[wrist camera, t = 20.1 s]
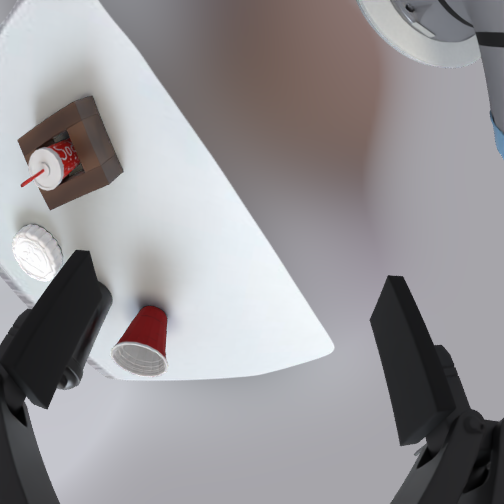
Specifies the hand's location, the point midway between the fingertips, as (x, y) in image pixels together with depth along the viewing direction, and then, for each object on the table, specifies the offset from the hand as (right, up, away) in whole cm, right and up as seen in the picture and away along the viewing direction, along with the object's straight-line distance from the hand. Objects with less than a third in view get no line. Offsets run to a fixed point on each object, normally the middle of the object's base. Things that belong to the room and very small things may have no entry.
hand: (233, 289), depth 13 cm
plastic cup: (-19, -11, +47) cm, 52 cm away
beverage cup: (-26, +18, +28) cm, 42 cm away
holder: (-27, +17, +28) cm, 42 cm away
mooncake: (-42, +2, +39) cm, 58 cm away
